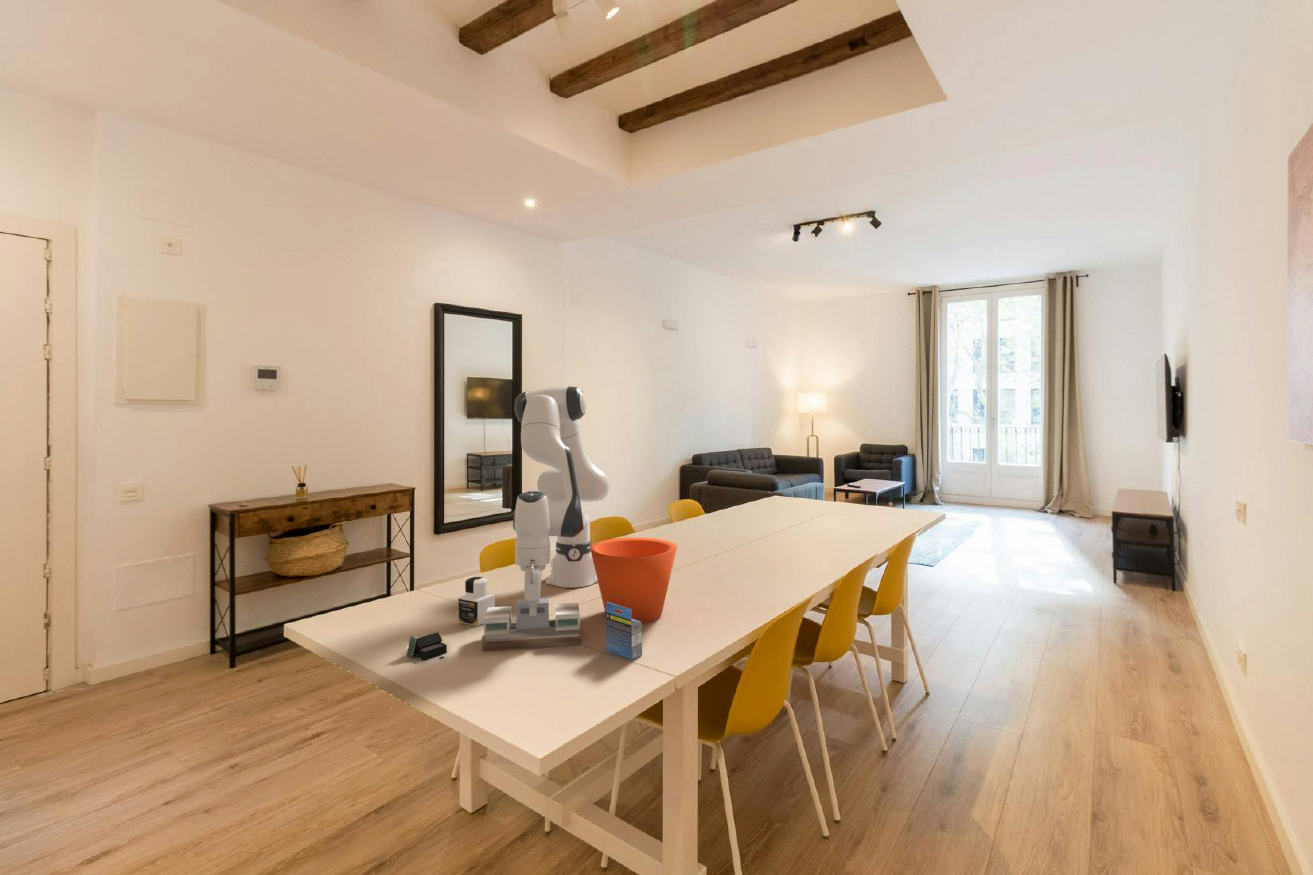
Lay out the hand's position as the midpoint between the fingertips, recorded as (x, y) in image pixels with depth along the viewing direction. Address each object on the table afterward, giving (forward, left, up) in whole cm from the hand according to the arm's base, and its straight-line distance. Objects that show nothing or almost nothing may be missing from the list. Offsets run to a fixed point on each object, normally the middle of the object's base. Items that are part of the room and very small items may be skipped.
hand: (533, 608), depth 159 cm
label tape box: (+13, +22, -8) cm, 27 cm away
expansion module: (+1, 0, -6) cm, 6 cm away
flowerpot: (-15, +28, -8) cm, 33 cm away
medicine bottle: (-17, -16, -8) cm, 25 cm away
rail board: (0, 0, -8) cm, 8 cm away
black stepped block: (+6, -25, -9) cm, 27 cm away
